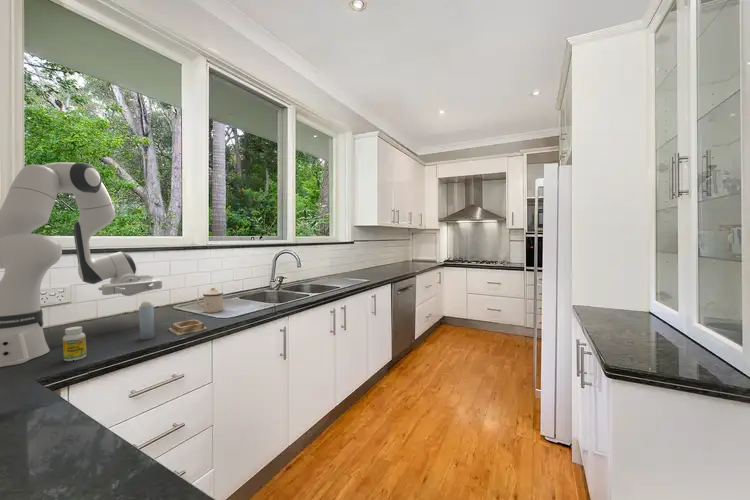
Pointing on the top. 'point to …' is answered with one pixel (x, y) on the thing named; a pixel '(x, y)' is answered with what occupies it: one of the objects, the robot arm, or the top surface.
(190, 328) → the cradle jig
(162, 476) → the top surface
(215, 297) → the teacup with lid
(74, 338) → the supplement bottle
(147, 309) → the blue bottle
